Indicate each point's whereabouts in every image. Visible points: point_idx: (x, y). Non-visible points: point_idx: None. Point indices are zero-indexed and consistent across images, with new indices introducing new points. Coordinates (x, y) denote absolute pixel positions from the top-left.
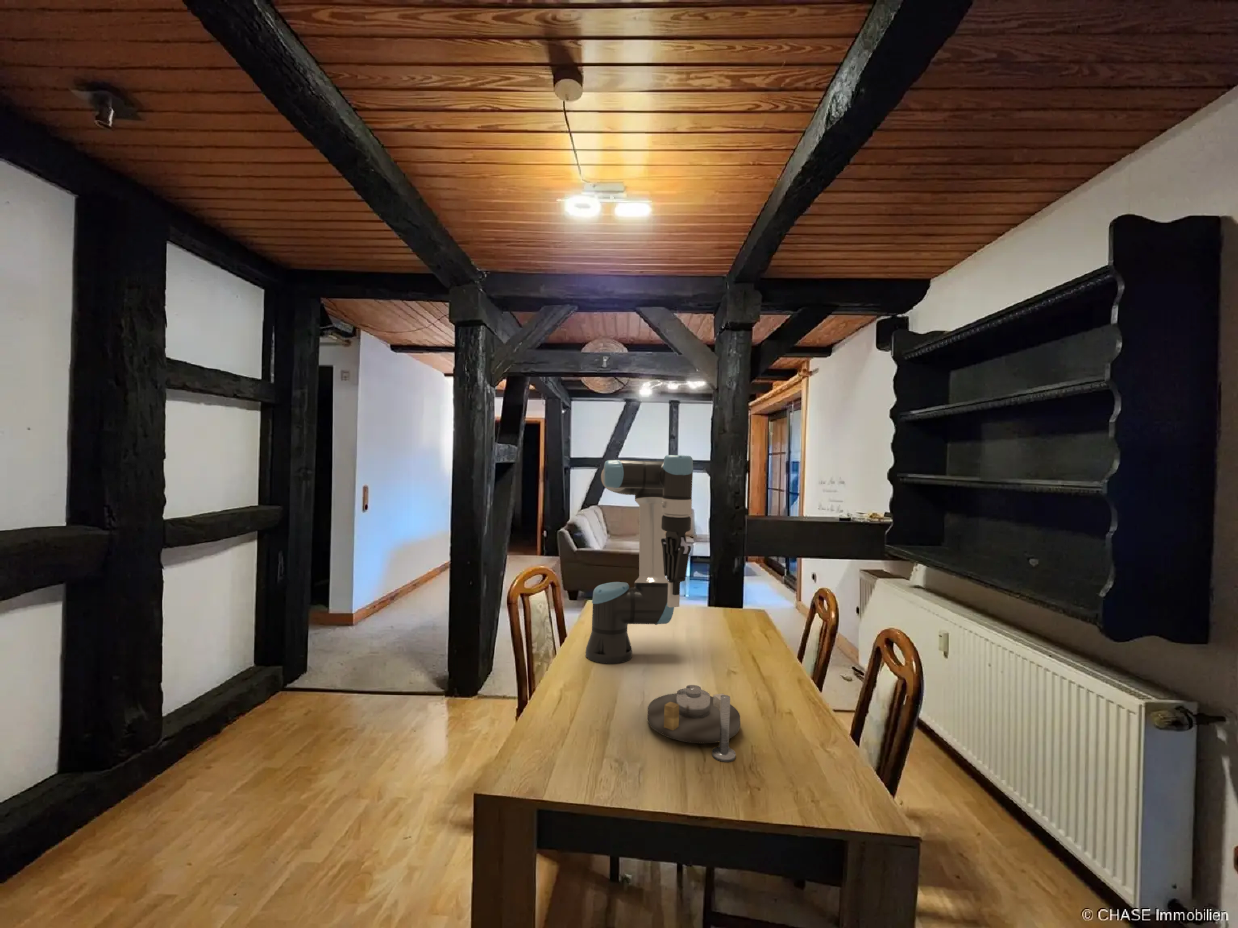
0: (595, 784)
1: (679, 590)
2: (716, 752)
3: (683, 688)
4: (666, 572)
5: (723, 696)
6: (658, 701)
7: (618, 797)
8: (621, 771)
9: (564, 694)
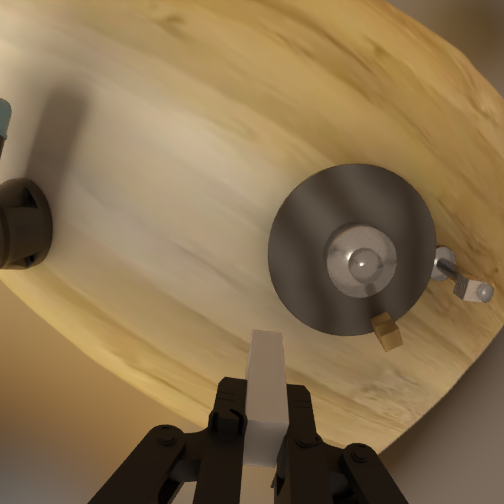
0: (388, 419)
1: (310, 403)
2: (437, 274)
3: (328, 264)
4: (180, 485)
5: (485, 297)
6: (288, 290)
7: (418, 407)
8: (387, 392)
9: (149, 370)
